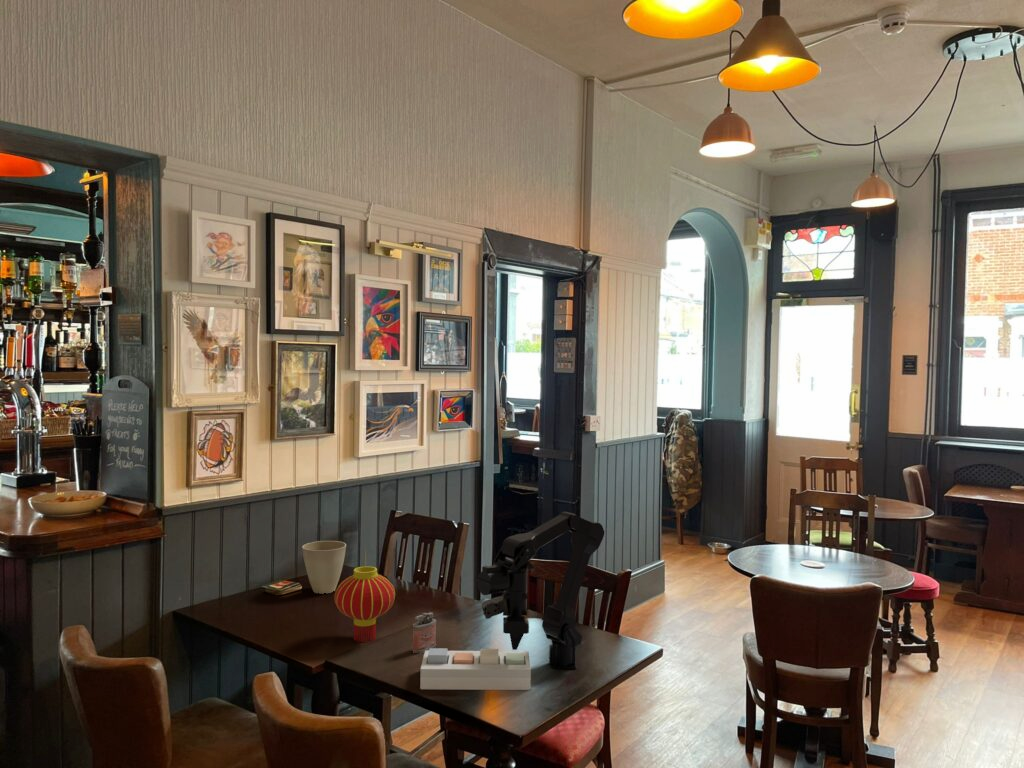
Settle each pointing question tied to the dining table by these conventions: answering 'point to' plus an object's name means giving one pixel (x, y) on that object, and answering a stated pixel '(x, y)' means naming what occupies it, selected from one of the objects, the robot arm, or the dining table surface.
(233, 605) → the dining table surface
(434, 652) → the key slate
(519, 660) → the key sage
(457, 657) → the key terracotta
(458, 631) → the dining table surface
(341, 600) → the lantern
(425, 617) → the lighter
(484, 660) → the key cream
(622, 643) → the dining table surface
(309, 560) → the plant pot
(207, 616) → the dining table surface
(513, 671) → the keypad
